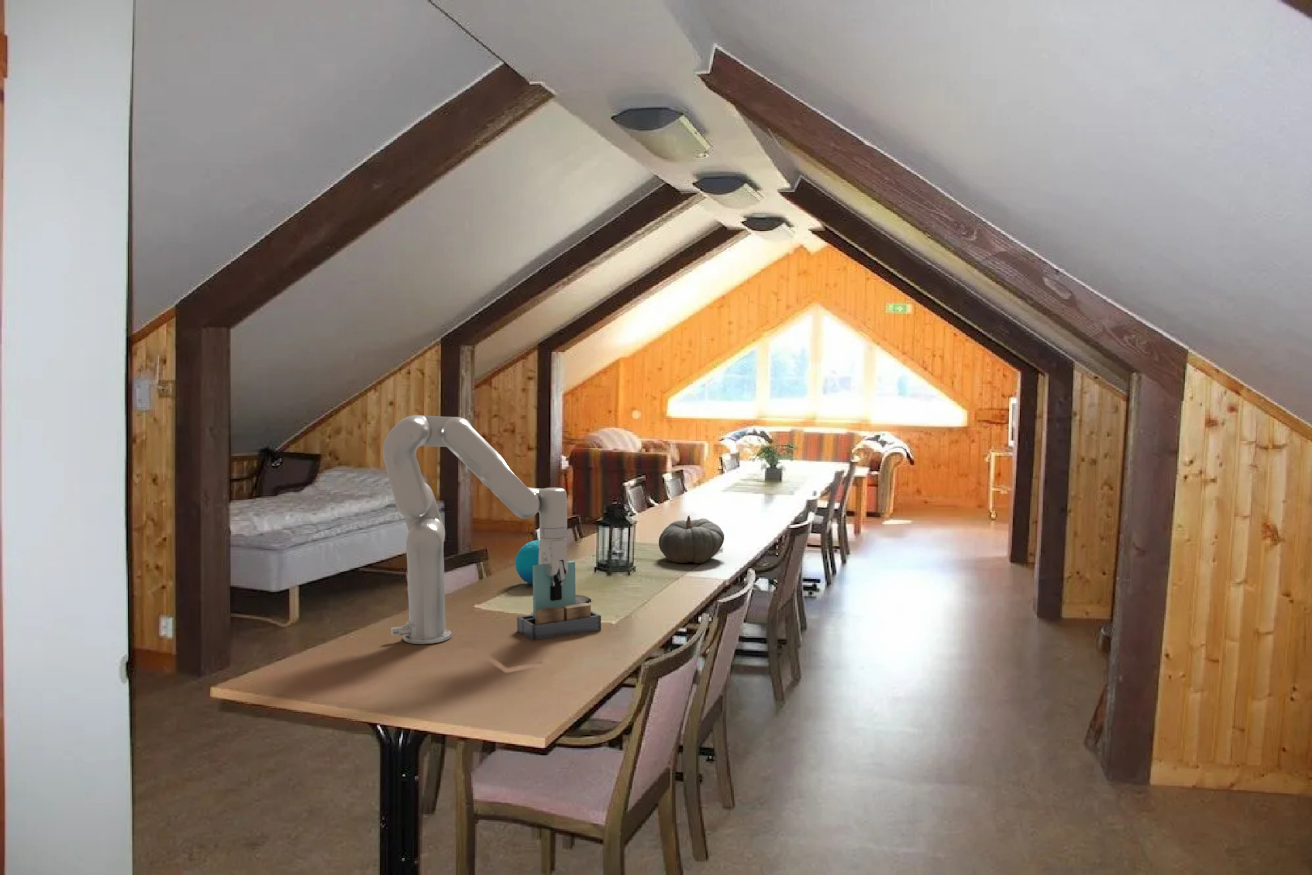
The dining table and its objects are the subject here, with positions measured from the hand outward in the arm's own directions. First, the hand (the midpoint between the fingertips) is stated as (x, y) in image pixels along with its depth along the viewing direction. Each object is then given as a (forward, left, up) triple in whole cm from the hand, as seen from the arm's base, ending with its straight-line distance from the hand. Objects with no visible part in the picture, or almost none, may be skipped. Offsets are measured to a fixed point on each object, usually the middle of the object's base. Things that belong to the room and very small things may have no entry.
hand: (554, 598), depth 259 cm
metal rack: (0, -3, -9) cm, 10 cm away
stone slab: (+10, +20, -10) cm, 24 cm away
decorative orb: (+19, +56, -9) cm, 60 cm away
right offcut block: (+4, -6, -8) cm, 11 cm away
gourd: (+85, +64, -9) cm, 107 cm away
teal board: (0, 0, -8) cm, 8 cm away
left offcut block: (-4, -6, -8) cm, 11 cm away
